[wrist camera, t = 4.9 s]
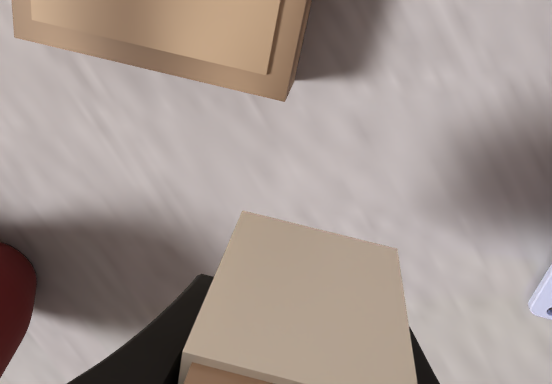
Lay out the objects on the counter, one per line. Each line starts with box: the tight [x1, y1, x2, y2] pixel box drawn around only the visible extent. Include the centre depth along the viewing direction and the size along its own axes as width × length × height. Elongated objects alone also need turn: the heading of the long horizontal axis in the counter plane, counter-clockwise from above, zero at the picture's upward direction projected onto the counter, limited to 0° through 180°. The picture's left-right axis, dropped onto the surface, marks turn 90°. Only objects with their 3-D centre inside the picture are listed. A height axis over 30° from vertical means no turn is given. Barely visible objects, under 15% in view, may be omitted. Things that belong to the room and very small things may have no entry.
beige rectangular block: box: [178, 211, 417, 384], centre depth 11 cm, size 4×4×6 cm
